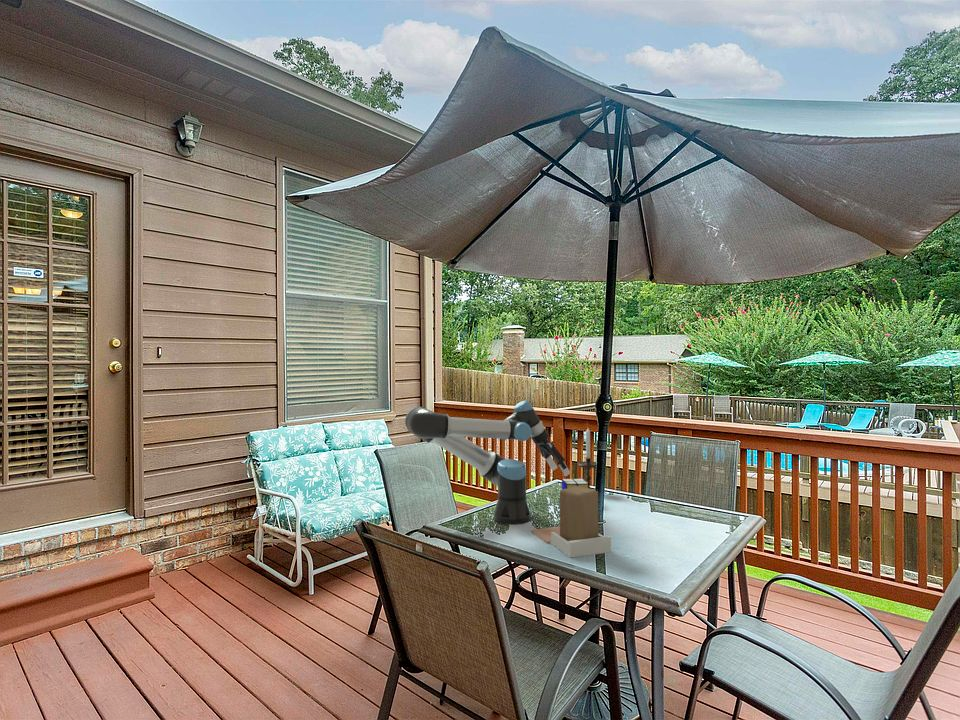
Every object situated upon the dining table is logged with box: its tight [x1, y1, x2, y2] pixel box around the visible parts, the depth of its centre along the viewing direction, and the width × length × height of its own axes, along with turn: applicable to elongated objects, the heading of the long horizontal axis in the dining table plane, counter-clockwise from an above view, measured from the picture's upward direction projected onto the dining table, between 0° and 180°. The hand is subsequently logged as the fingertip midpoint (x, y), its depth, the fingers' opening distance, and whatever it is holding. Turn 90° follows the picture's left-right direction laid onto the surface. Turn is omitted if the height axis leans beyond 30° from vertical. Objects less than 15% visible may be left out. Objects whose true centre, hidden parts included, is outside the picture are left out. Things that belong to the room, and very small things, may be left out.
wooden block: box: [559, 486, 599, 541], centre depth 185 cm, size 10×10×20 cm
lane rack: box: [550, 532, 612, 558], centre depth 184 cm, size 14×15×5 cm
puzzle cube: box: [561, 478, 588, 490], centre depth 242 cm, size 10×10×10 cm
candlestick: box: [576, 422, 597, 490], centre depth 260 cm, size 11×11×35 cm
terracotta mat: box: [530, 525, 560, 544], centre depth 198 cm, size 18×14×1 cm
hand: (561, 471), depth 238 cm, fingers open, 13 cm apart
